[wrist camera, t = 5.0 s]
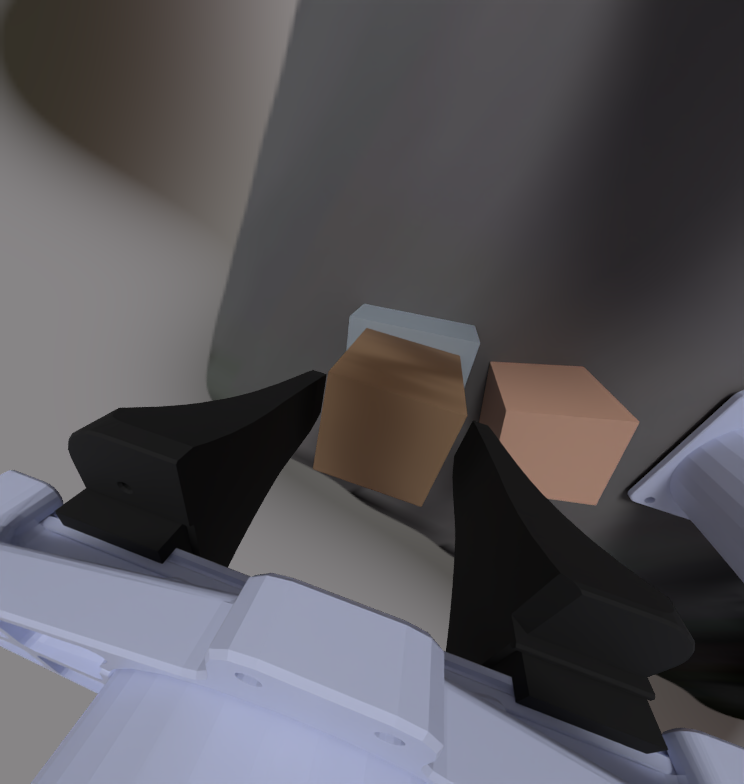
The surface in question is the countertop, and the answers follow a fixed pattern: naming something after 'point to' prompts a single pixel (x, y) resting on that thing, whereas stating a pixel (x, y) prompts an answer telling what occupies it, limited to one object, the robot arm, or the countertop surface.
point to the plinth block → (418, 332)
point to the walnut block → (390, 415)
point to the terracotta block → (557, 427)
